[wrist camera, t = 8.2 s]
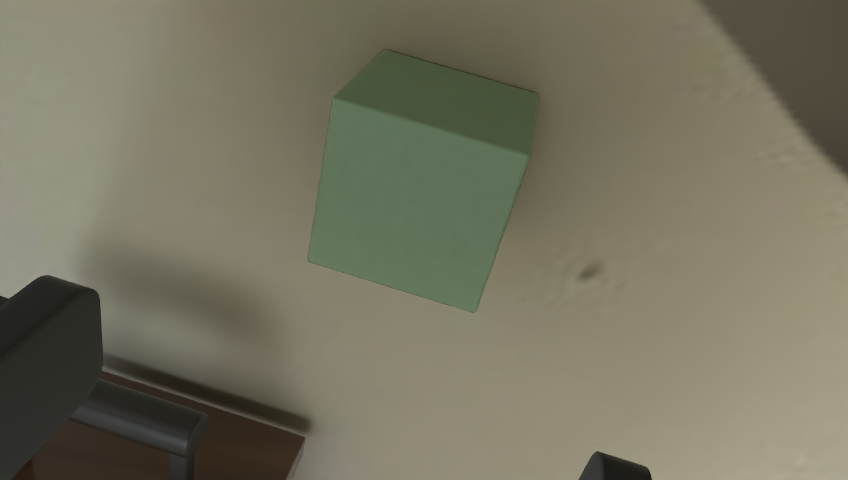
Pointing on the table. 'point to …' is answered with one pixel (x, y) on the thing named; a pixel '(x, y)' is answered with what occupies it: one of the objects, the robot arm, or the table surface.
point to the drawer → (160, 440)
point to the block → (421, 177)
